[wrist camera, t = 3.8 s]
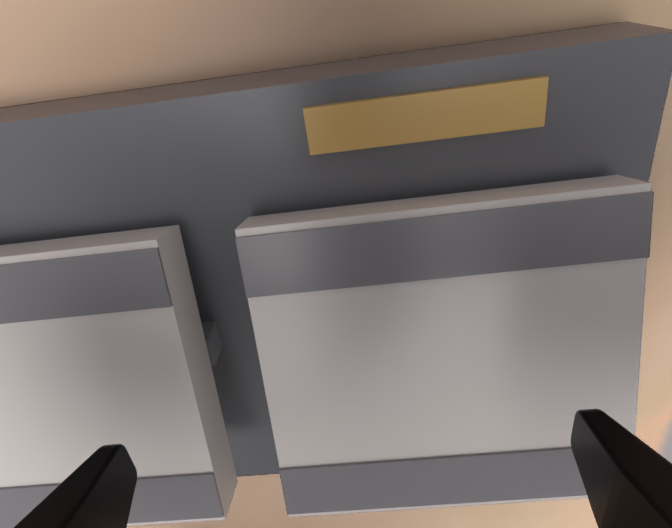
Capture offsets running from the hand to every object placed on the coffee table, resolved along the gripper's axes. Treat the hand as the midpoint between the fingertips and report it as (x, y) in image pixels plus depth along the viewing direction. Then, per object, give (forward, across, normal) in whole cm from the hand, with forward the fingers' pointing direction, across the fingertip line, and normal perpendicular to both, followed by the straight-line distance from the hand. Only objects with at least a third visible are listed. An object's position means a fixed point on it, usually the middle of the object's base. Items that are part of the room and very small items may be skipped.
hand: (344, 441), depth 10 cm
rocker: (+4, +9, +2) cm, 10 cm away
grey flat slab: (+4, -3, +2) cm, 5 cm away
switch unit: (+9, +3, +2) cm, 9 cm away
